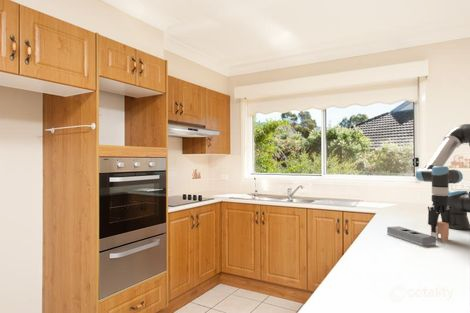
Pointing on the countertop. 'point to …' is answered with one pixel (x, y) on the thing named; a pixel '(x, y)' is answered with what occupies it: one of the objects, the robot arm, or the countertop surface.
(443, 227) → the tall peach block
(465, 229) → the robot arm
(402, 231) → the rail
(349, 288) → the countertop surface
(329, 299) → the countertop surface
